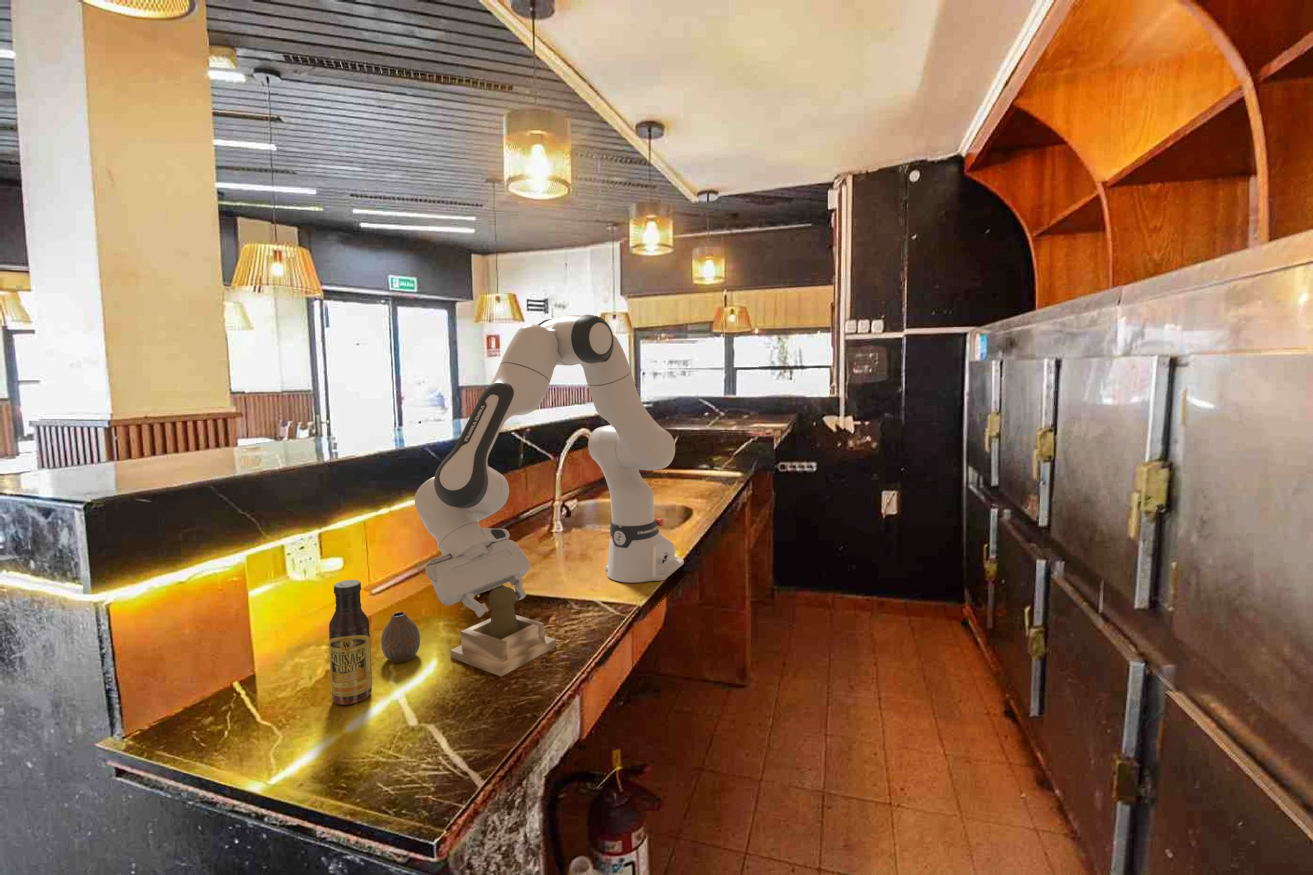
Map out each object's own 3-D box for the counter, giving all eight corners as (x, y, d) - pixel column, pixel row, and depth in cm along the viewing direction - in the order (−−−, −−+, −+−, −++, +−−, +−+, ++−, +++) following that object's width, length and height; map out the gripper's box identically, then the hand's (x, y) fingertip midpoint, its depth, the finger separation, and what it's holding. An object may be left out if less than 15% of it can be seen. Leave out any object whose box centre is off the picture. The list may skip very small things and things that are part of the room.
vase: (429, 654, 121) (426, 610, 120) (398, 669, 115) (394, 624, 114) (405, 647, 124) (402, 604, 123) (374, 661, 118) (370, 617, 117)
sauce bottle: (328, 710, 101) (317, 592, 99) (336, 691, 107) (326, 579, 105) (372, 703, 103) (362, 587, 101) (377, 685, 109) (368, 575, 107)
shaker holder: (506, 630, 130) (505, 607, 130) (556, 646, 122) (554, 621, 122) (450, 657, 119) (449, 632, 118) (500, 676, 111) (499, 649, 110)
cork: (513, 651, 117) (510, 595, 116) (483, 650, 118) (479, 594, 117) (525, 637, 123) (522, 584, 122) (496, 636, 124) (493, 582, 123)
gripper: (427, 553, 114) (466, 615, 109) (512, 527, 130) (549, 580, 126) (414, 572, 117) (451, 634, 112) (499, 545, 133) (534, 598, 129)
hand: (503, 605), depth 119 cm, fingers open, 8 cm apart
